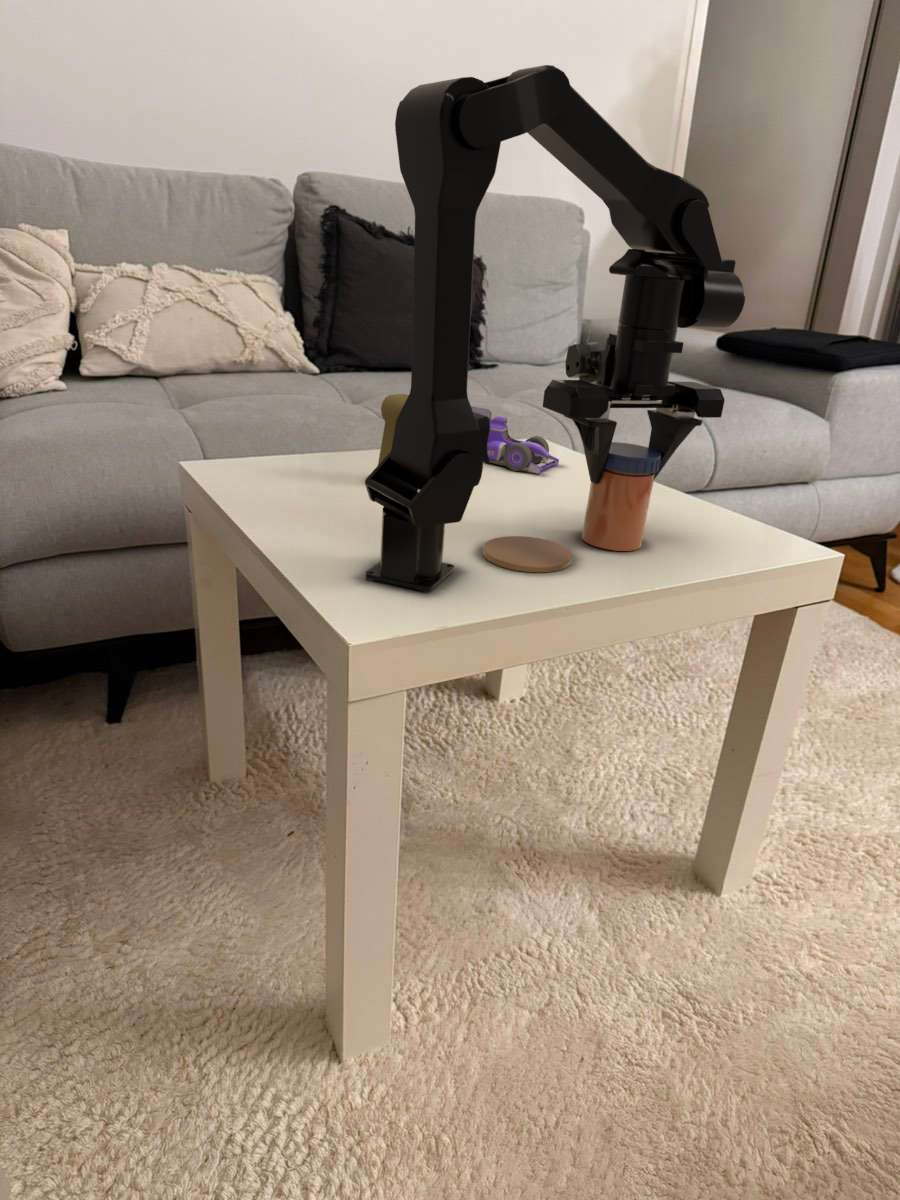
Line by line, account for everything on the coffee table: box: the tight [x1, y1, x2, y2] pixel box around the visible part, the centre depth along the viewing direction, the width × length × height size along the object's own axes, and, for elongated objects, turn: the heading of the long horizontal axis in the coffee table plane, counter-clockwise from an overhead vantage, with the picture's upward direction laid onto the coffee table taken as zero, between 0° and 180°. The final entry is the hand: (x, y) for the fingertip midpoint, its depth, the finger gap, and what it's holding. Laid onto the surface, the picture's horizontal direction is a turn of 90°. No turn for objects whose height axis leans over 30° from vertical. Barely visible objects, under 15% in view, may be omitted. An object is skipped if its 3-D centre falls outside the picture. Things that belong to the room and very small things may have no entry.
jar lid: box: [605, 441, 661, 474], centre depth 89 cm, size 7×7×2 cm
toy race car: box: [471, 406, 560, 475], centre depth 121 cm, size 10×15×6 cm, turn 61°
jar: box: [581, 469, 655, 552], centre depth 90 cm, size 6×6×9 cm
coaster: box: [482, 535, 573, 574], centre depth 86 cm, size 9×9×1 cm
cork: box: [377, 393, 409, 466], centre depth 105 cm, size 6×6×11 cm
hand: (622, 481), depth 90 cm, fingers closed on jar lid, 6 cm apart
